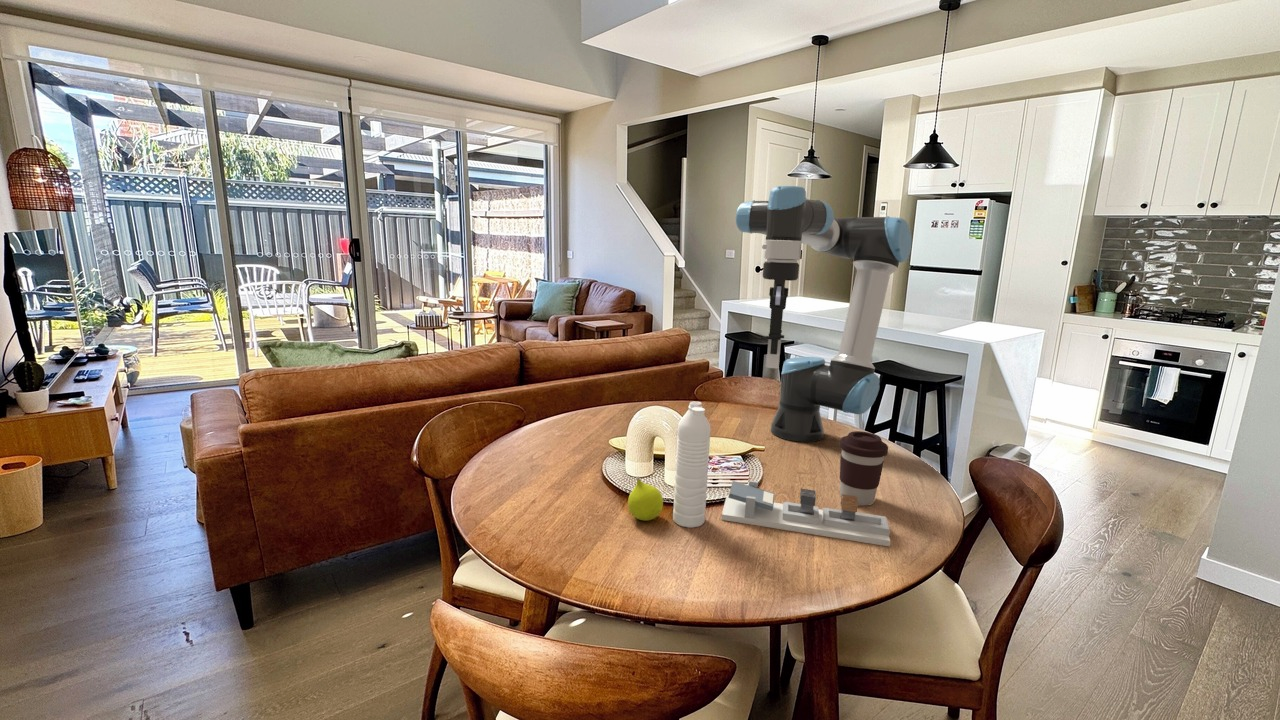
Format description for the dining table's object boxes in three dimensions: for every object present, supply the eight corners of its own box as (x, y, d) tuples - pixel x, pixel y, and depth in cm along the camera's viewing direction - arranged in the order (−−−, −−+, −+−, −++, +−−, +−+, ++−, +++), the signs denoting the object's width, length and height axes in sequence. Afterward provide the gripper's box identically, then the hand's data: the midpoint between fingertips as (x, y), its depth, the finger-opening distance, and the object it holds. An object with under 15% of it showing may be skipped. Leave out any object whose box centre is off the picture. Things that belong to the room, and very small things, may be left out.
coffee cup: (884, 512, 120) (894, 446, 117) (836, 506, 122) (844, 441, 119) (875, 492, 130) (883, 431, 127) (830, 487, 132) (837, 426, 129)
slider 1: (798, 510, 116) (801, 488, 115) (812, 512, 116) (815, 490, 115) (798, 518, 113) (801, 495, 112) (813, 520, 113) (815, 497, 111)
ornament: (622, 512, 116) (624, 467, 114) (654, 508, 119) (656, 463, 117) (634, 529, 110) (636, 482, 108) (667, 524, 112) (670, 477, 110)
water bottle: (671, 512, 117) (677, 397, 112) (702, 512, 117) (709, 398, 112) (675, 533, 109) (681, 410, 103) (708, 534, 109) (716, 411, 103)
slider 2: (838, 516, 114) (841, 494, 113) (853, 519, 114) (856, 496, 113) (840, 524, 111) (842, 501, 110) (855, 527, 111) (858, 503, 110)
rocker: (731, 484, 121) (733, 479, 121) (773, 496, 119) (774, 492, 119) (728, 498, 115) (729, 493, 114) (772, 511, 113) (773, 506, 112)
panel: (726, 500, 123) (728, 476, 122) (882, 524, 115) (886, 498, 114) (721, 519, 115) (723, 494, 114) (889, 546, 107) (893, 519, 106)
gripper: (765, 259, 128) (757, 360, 133) (762, 261, 116) (753, 372, 121) (799, 260, 126) (789, 362, 131) (799, 263, 114) (789, 375, 119)
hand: (772, 367), depth 126 cm, fingers closed
